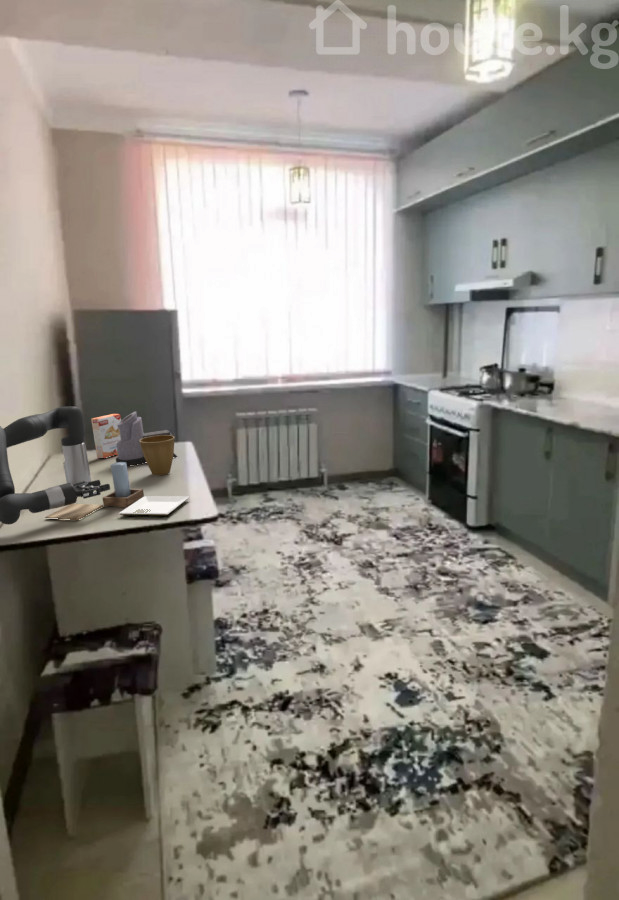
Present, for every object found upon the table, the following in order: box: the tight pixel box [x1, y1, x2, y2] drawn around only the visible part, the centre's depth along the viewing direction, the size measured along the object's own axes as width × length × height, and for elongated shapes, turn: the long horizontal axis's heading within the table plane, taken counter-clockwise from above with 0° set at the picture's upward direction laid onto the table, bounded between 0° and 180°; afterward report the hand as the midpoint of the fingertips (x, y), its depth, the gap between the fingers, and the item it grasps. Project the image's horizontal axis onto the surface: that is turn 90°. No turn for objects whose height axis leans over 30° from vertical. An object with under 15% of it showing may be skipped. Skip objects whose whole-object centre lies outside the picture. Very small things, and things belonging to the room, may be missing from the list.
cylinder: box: [110, 462, 131, 498], centre depth 214 cm, size 6×6×15 cm
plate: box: [118, 495, 191, 517], centre depth 205 cm, size 19×19×2 cm
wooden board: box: [44, 503, 104, 520], centre depth 207 cm, size 14×14×1 cm
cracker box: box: [90, 413, 122, 459], centre depth 292 cm, size 14×6×21 cm, turn 148°
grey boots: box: [115, 411, 178, 467], centre depth 277 cm, size 30×16×24 cm, turn 114°
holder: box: [102, 488, 145, 508], centre depth 215 cm, size 11×11×4 cm
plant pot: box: [139, 435, 175, 476], centre depth 251 cm, size 15×15×16 cm
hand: (104, 484), depth 209 cm, fingers open, 8 cm apart
